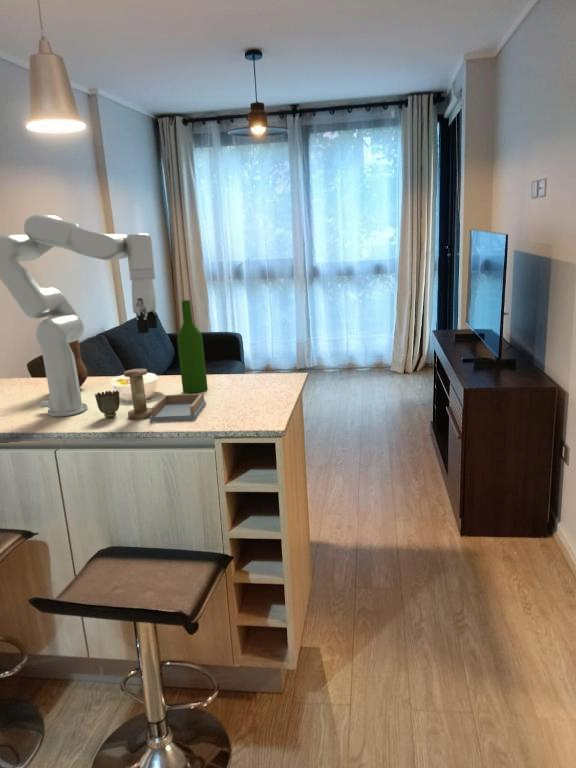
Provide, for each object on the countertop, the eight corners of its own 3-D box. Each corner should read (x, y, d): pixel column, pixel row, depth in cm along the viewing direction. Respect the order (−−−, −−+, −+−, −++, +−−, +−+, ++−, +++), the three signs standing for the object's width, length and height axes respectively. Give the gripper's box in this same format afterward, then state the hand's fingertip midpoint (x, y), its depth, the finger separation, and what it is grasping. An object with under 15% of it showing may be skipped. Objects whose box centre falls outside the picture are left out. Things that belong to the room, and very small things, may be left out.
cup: (122, 418, 186) (118, 394, 184) (97, 422, 184) (94, 397, 182) (122, 412, 193) (119, 388, 191) (99, 415, 191) (95, 391, 189)
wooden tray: (150, 421, 180) (148, 409, 180) (164, 407, 196) (163, 395, 195) (195, 419, 179) (194, 407, 178) (206, 405, 195) (204, 393, 194)
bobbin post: (124, 420, 184) (118, 374, 181) (133, 412, 192) (127, 369, 188) (149, 419, 183) (144, 373, 180) (157, 411, 191) (151, 367, 188)
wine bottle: (202, 386, 221) (192, 298, 213) (211, 390, 213) (202, 300, 205) (179, 390, 216) (169, 301, 209) (188, 395, 209) (178, 302, 201)
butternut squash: (62, 387, 236) (51, 324, 230) (94, 385, 235) (85, 322, 229) (46, 396, 222) (34, 330, 216) (80, 394, 221) (70, 328, 215)
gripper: (138, 273, 190) (144, 326, 194) (121, 277, 173) (127, 335, 177) (161, 272, 190) (166, 325, 194) (146, 276, 173) (152, 334, 177)
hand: (148, 330), depth 186 cm, fingers open, 9 cm apart
